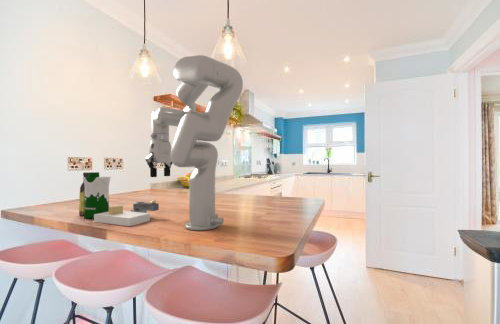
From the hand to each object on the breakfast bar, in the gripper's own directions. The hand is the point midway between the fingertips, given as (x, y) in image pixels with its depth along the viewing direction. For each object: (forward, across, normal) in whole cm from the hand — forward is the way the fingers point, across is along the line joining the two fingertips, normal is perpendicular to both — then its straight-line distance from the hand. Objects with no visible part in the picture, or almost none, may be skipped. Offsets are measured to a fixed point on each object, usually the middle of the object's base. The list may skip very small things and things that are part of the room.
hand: (160, 176), depth 111 cm
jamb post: (+18, -6, +7) cm, 20 cm away
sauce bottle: (+18, -10, +35) cm, 41 cm away
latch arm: (+14, -6, +3) cm, 16 cm away
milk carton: (+18, -12, +25) cm, 33 cm away
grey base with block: (+18, -14, +7) cm, 24 cm away
